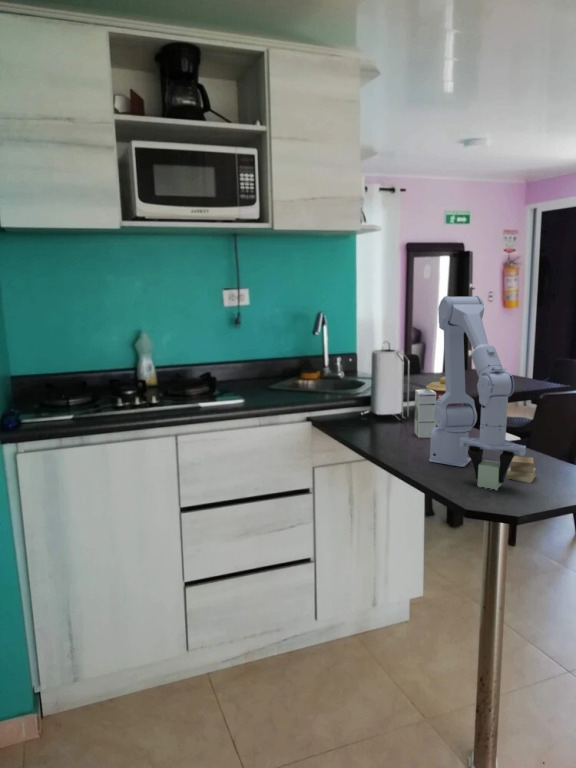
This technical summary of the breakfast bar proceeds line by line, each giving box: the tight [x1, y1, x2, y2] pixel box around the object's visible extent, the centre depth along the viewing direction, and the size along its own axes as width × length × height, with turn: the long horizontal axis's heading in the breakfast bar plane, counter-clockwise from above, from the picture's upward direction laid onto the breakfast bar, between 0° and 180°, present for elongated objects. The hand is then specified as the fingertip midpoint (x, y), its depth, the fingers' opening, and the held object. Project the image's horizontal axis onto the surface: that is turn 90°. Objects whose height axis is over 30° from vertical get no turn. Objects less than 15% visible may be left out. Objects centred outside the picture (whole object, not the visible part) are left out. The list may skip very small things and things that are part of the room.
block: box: [476, 459, 503, 491], centre depth 133 cm, size 4×4×6 cm
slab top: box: [510, 455, 535, 473], centre depth 138 cm, size 5×5×2 cm
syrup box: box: [413, 388, 436, 439], centre depth 177 cm, size 6×6×14 cm
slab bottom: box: [506, 466, 537, 484], centre depth 138 cm, size 6×6×2 cm
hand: (489, 479), depth 133 cm, fingers open, 5 cm apart
